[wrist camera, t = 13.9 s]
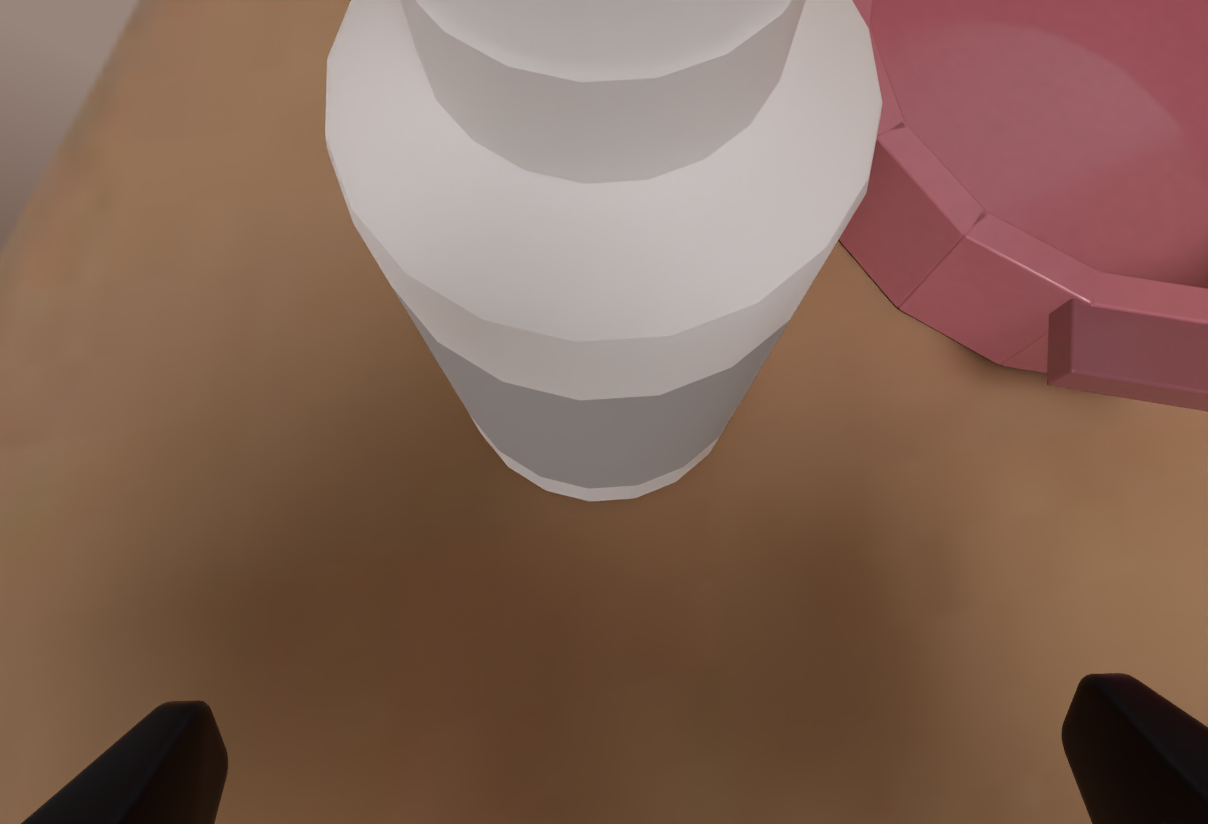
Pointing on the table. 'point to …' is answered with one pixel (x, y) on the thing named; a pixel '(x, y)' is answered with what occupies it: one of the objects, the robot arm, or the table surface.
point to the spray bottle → (601, 206)
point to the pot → (1046, 186)
